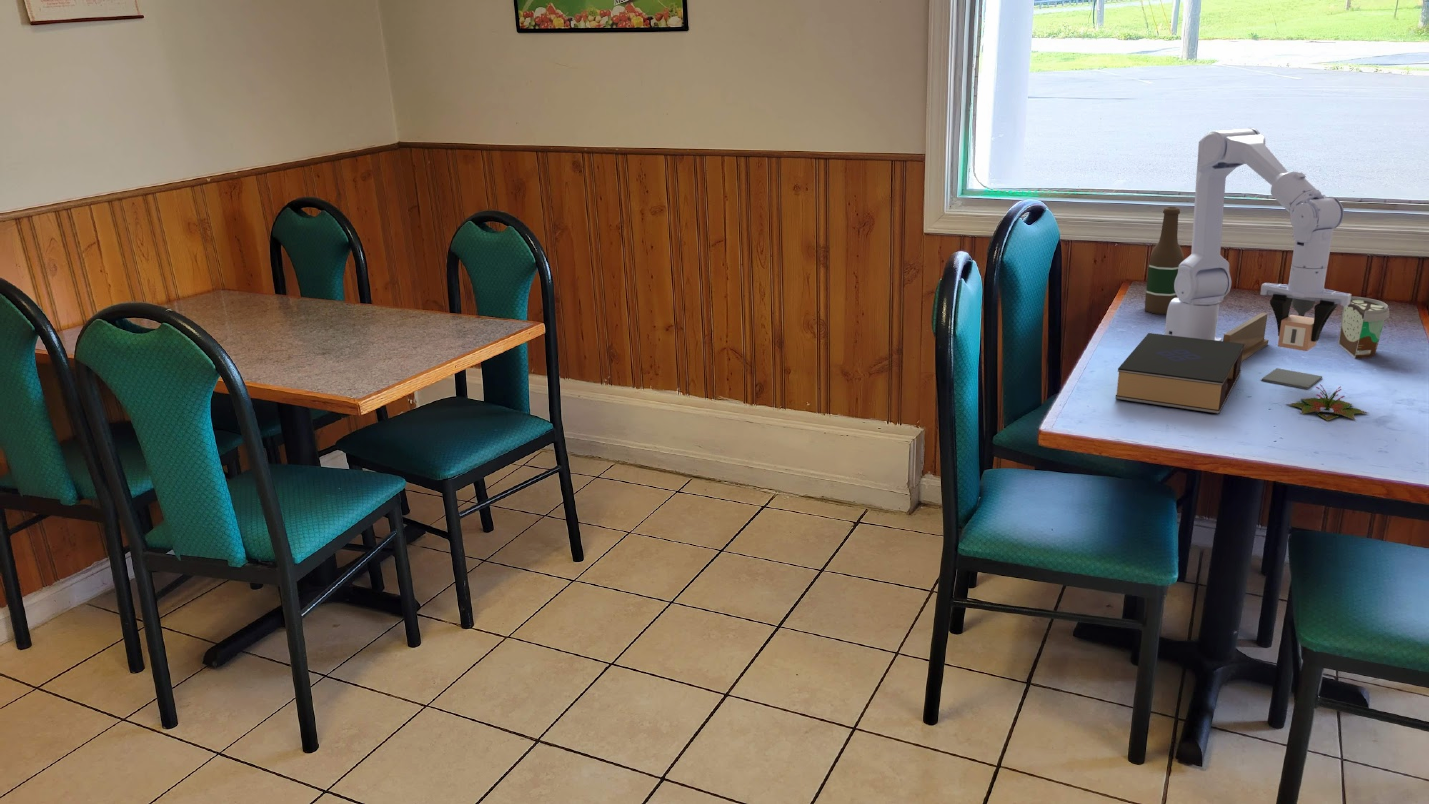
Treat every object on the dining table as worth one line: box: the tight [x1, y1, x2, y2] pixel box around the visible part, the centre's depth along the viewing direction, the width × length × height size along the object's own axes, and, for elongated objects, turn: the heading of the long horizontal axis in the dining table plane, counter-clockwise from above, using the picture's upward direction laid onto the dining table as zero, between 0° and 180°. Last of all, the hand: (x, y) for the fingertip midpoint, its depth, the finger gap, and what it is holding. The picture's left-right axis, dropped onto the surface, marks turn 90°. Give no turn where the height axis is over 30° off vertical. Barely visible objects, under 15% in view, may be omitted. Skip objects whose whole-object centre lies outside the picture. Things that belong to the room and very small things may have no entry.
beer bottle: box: [1144, 206, 1184, 315], centre depth 240 cm, size 8×8×24 cm
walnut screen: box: [1222, 312, 1269, 362], centre depth 210 cm, size 3×20×6 cm, turn 135°
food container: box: [1337, 296, 1390, 359], centre depth 208 cm, size 12×6×10 cm, turn 168°
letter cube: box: [1277, 314, 1318, 352], centre depth 193 cm, size 5×5×5 cm
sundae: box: [1291, 298, 1316, 317], centre depth 224 cm, size 7×7×15 cm
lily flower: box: [1285, 384, 1368, 422], centre depth 181 cm, size 12×12×5 cm
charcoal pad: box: [1260, 367, 1323, 390], centre depth 196 cm, size 8×8×1 cm
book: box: [1114, 332, 1244, 415], centre depth 194 cm, size 17×25×7 cm
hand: (1298, 337), depth 194 cm, fingers closed on letter cube, 5 cm apart
